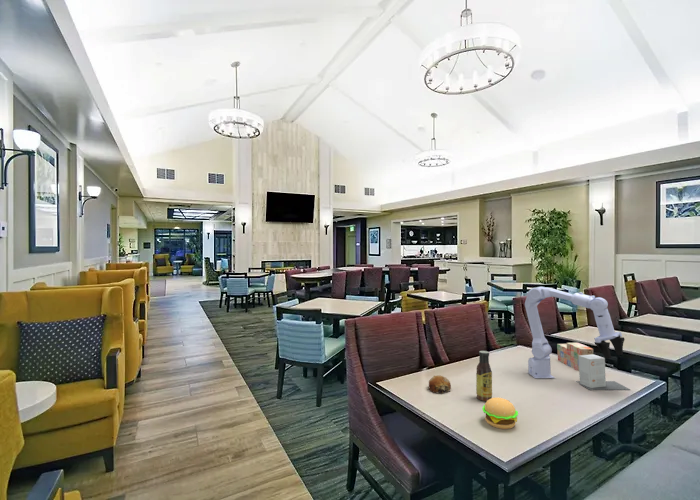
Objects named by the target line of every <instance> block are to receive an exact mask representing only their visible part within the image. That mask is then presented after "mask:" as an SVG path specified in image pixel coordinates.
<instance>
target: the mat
mask: <svg viewBox="0 0 700 500" xmlns="http://www.w3.org/2000/svg"><path fill="white" fill-rule="evenodd" d="M575 382H576V384H579V385H580V386H582V387H583V388H586V389H587V390H588V391H631V389H630V388H628V387H627V386H625V385H623V384H621V383H619V382H617V381H615V380H606V387H597V388H589V387H587V386H585V385H582V384H580V380H576V381H575Z"/></svg>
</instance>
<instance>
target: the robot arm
mask: <svg viewBox="0 0 700 500" xmlns="http://www.w3.org/2000/svg"><path fill="white" fill-rule="evenodd" d="M551 297H553V298H557V299H561V300H566V301H570V302H571V303H572V305H575V306H580V307H582V308H585V309H590V310H591V311H592V312H593V316H594V321H595V323H596V326H597V331H598V336H597V337H594V341H593V342H594V345H595V346H596V347H597V348H598V349H599V350H600V352H601V353H602V355H603V358H605V359H608V360H609V359H612V355H611V352H610V351H611V348H610V345H612V347H613V349H614V351H615V353H616V355H619V356H622V355H623V354H624V352H623V349H624V348H623V346H624V342H625V340H626V339H625V337H623V335H622V332H621V331H616V330H615V329H614V325H613V322H612V317H611V314H610V311H609V309H608V305H609V303H608V301H607V300H606V299H605V298H603V297H601V296H600V297H599V296H598V297H596V295H589V294H584V292H582V291H579V292H575V293H573V294H572V293H569V292H567V291H564V290H563V291H562V290H559V289H557V288H556V289H555V288H553V287H545V286H542V285H541V286H537V287H533V288H530V289H529V290H528V291H527V292H526V297H525V302H524V307H525V311H526V316H527V319H528V324H529V328H530V332H531V335H532V336H531V337H532V342H531V346H532V348H531V353H532V355H533V356H532V357H529V358H528V361H527V363H528V364H527V365H528V366H527V368H528V371H527V374H529V375H530V376H532V377H533V378H534V379H555V378H556V377H555V376H554V375H552V374H551V373H552V370H551V368H552V367H551V356H550V355H551V354H552V351H553V349H552V347H551V345H550V344H549V341H548V339H547V338H546V336H545V334H544V333H545V332H544V330H543V325H542V322H541V318H540V314H539V313H540V312H539V308H538V305H539V304H540V303H541V302H543V300H545V299H546V298H551ZM607 341H608V342H607Z"/></svg>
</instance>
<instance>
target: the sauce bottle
mask: <svg viewBox="0 0 700 500" xmlns="http://www.w3.org/2000/svg"><path fill="white" fill-rule="evenodd" d="M478 355H479V356H478V357H479V358H478V359H479V362H478V364H477V366H476V372H475V373H476V375H475V376H476V377H475V378H476V379H475V380H476V382H475V383H476V385H475V387H476V389H475V390H476V391H475V394H476V398H477V400H480V401H482V402H487V400H489V399H491V398H493V371H492V368H491V364H490V360H489V357H490V352H489V351H487V350H479V351H478Z"/></svg>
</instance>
